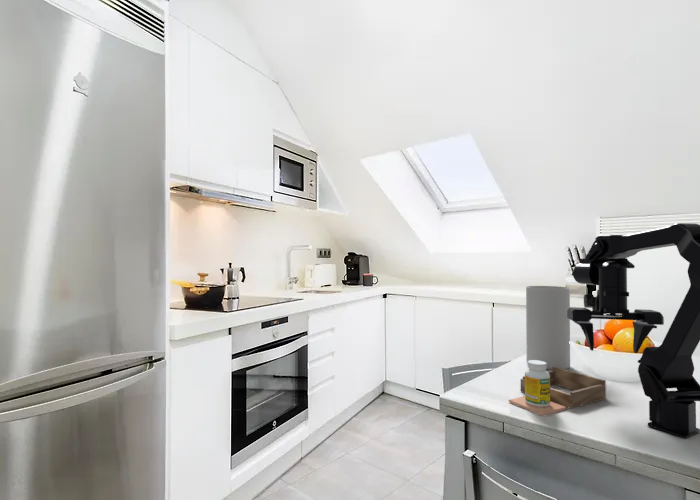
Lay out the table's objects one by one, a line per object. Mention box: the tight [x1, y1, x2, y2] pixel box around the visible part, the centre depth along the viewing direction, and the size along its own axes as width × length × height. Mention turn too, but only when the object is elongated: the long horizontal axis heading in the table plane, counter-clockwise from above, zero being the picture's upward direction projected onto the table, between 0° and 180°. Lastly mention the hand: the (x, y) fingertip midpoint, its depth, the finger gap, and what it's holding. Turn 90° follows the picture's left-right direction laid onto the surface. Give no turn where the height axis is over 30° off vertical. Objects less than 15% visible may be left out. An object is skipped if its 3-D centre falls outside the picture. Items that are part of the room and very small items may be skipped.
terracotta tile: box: [508, 395, 567, 417], centre depth 91 cm, size 9×8×1 cm
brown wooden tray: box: [520, 367, 607, 410], centre depth 99 cm, size 14×14×4 cm
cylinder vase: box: [525, 285, 571, 371], centre depth 126 cm, size 12×12×25 cm
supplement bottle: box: [524, 360, 551, 407], centre depth 91 cm, size 5×5×10 cm
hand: (613, 351), depth 94 cm, fingers open, 9 cm apart
